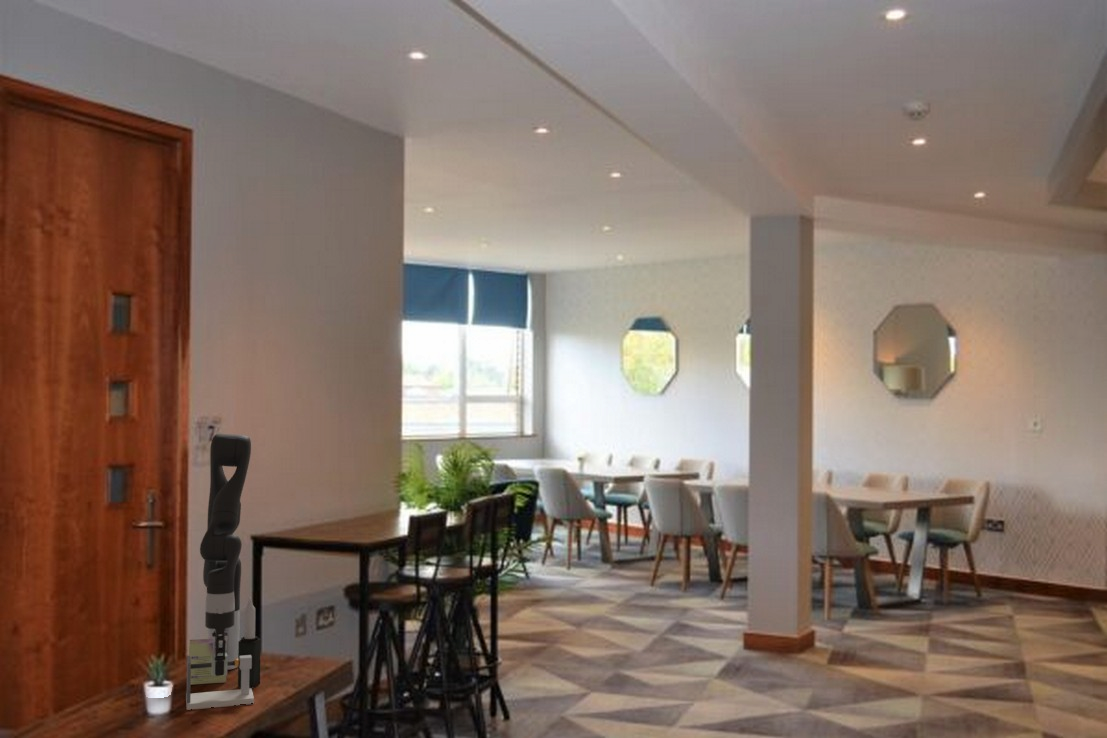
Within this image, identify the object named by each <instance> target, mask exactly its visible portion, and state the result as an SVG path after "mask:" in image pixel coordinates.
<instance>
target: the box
mask: <svg viewBox="0 0 1107 738" xmlns="http://www.w3.org/2000/svg"><path fill="white" fill-rule="evenodd" d="M188 645H189V646H188V656H190V658H191V664H200V663H211V654H214V652H213V641H212V639H208V638H202V639H201V638H199V639H189V644H188ZM225 653H227V651H226V652H225ZM221 683H223V684H224V683H225V684H226V683H227V675H220V676H211V667H208V668H196V669H191V685H192V686H193V685H206V684H221Z"/></svg>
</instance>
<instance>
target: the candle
mask: <svg viewBox="0 0 1107 738" xmlns="http://www.w3.org/2000/svg"><path fill="white" fill-rule="evenodd" d="M253 604H254V603H253V600H252V597H251V596H249V597H248V602H247V604H246V607H245V608H244V624H243V625H244V626H243V627H244V629H243V632H244V635H243V637H240V639H239V642H238V659H239V656H244V655H251V657H252V669H249V688H251V689H253V688H252V687H254V688H256V687H257V686H259V685H258V684H260V685H261V647H262V646H261V638H259V637H258V636H256V607H255V606H254V605H253ZM237 687H238V688H241V670H240V668H239V667H237Z"/></svg>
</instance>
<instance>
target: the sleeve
mask: <svg viewBox="0 0 1107 738" xmlns="http://www.w3.org/2000/svg"><path fill="white" fill-rule="evenodd" d="M217 656H223V653H218V654H217ZM225 657H226V658H225V661H224V675H226V676H227V675H228V670H227V658H228V656H227V653H225ZM214 659H215V654H211V663H212V667H211V676H216V675H215V660H214Z"/></svg>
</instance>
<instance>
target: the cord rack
mask: <svg viewBox="0 0 1107 738" xmlns="http://www.w3.org/2000/svg"><path fill="white" fill-rule="evenodd" d="M233 665H235V667H237V668H238V667H239V668H240V670H241V687H240V689H239V688H238V689H228V690H218V691H217V690H216V691H205V692H195V693H193V692H192V693H191V687H192V686H191V669H196V668H208V667H212V663H200V664H191V658H190V656H189V655H187V656H186V694H185V702H186V703H185V704H186V711H188V710H190V711H191V709H192V710H202V709H212V708H211V707H214V708H222V707H223V708H224V707H233V706H234V705H236V706H241V705H240V704H246V705H254V704H255V697H254V693H253V690H252V689H253V688H249V669H252V657H251V655H244V656H239V659H235V661H227V666H233ZM251 703H253V704H251ZM234 707H235V706H234Z"/></svg>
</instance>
